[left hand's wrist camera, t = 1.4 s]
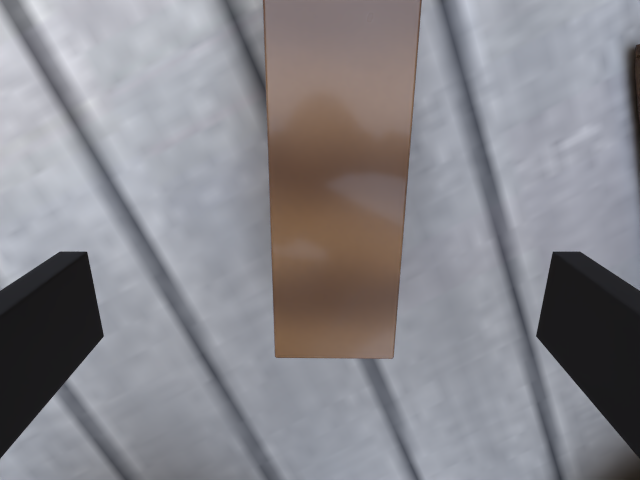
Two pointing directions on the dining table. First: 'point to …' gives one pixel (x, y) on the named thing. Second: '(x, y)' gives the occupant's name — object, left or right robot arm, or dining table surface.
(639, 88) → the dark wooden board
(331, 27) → the bar
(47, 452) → the dining table surface
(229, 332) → the dining table surface
